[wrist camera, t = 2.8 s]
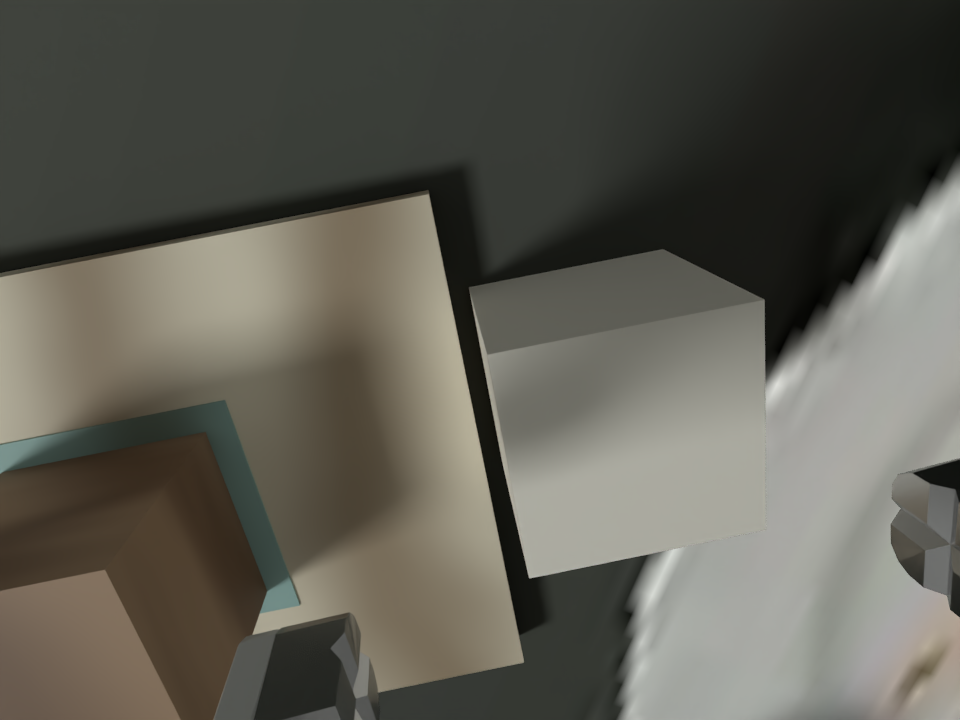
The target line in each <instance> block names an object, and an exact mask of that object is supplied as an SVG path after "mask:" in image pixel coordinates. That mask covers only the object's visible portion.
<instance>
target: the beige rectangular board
mask: <svg viewBox="0 0 960 720" xmlns="http://www.w3.org/2000/svg"><path fill="white" fill-rule="evenodd" d="M202 432H206V434H207V437H208V440H209V442H210V445H211V447H212V450H213V452H214V455H215V458H216V460H217V463H218V465H219V468H220V470H221V473H222V476H223V478H224V481H225V483H226V486H227V488H228V491H229V493H230V496H231V499H232V501H233V504H234V506H235V509H236V511H237V514H238V517H239V519H240V522H241V524H242V527H243V529H244V532H245V535H246V537H247V540H248V542H249V545H250V547H251V550H252V553H253V555H254V558H255V560H256V563H257V565H258V568H259V571H260V573H261V576H262V578H263V581H264V583H265V586H266V589H267V594H266V597H265V600H264V602H263V605H262V608H261V611H260V614H259V617H258V620H257V623H256V626H255V629H254V632H253V635H255V634H259V633H263V632H267V631H272V630H276V629H281V628H282V627H287V626H291V625H296V624H300V623H304V622H309V621H313V620H317V619H322V618H326V617H331V616H335V615H339V614H344V613H348V612H350V613H351V614H353V615H354V616H355V619H356V621H357V624H358V626H359V629H360V632H361V643H360V652H361V653H363V654H365V655H366V656H368V657H369V658H370V660H371V664H372V667H373V670H374V673H375V678H376V682H377V687H378V692H383V691H387V690H392V689H397V688H402V687H407V686H412V685H417V684H421V683H426V682H431V681H436V680H441V679H446V678H451V677H455V676H460V675H465V674H470V673H475V672H480V671H485V670H489V669H494V668H499V667H504V666H509V665H514V664H519V663H523V662H524V659H523V654H522V649H521V643H520V638H519V633H518V628H517V623H516V618H515V613H514V608H513V603H512V598H511V593H510V589H509V584H508V579H507V574H506V569H505V564H504V559H503V554H502V549H501V544H500V539H499V534H498V530H497V525H496V520H495V515H494V510H493V505H492V500H491V495H490V490H489V485H488V480H487V475H486V471H485V466H484V461H483V456H482V451H481V446H480V441H479V436H478V431H477V426H476V421H475V416H474V412H473V407H472V402H471V397H470V392H469V387H468V382H467V377H466V372H465V367H464V362H463V357H462V353H461V348H460V343H459V338H458V333H457V328H456V323H455V318H454V313H453V308H452V303H451V298H450V294H449V289H448V284H447V279H446V274H445V269H444V264H443V259H442V254H441V249H440V244H439V239H438V235H437V230H436V225H435V220H434V215H433V210H432V205H431V200H430V195H429V190H426V191H421V192H416V193H411V194H405V195H400V196H395V197H390V198H385V199H380V200H375V201H369V202H364V203H359V204H354V205H349V206H344V207H338V208H333V209H328V210H323V211H318V212H313V213H307V214H302V215H297V216H292V217H287V218H282V219H276V220H271V221H266V222H261V223H256V224H251V225H246V226H240V227H235V228H230V229H225V230H220V231H215V232H209V233H204V234H199V235H194V236H189V237H184V238H178V239H173V240H168V241H163V242H158V243H153V244H147V245H142V246H137V247H132V248H127V249H122V250H117V251H111V252H106V253H101V254H96V255H91V256H86V257H80V258H75V259H70V260H65V261H60V262H55V263H49V264H44V265H39V266H34V267H29V268H24V269H18V270H13V271H8V272H3V273H0V474H1V473H2V472H6V471H11V470H16V469H21V468H26V467H31V466H36V465H41V464H46V463H51V462H56V461H61V460H66V459H71V458H76V457H81V456H86V455H91V454H96V453H101V452H107V451H112V450H117V449H122V448H127V447H132V446H137V445H142V444H147V443H152V442H157V441H162V440H167V439H172V438H177V437H182V436H187V435H192V434H197V433H202Z"/></svg>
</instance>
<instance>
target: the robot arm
mask: <svg viewBox="0 0 960 720" xmlns="http://www.w3.org/2000/svg"><path fill="white" fill-rule="evenodd" d="M892 500H893V501H894V502H895V503H896V504H897V505H898V506H899V507H900V508H901V509H900V511H899V512H898V514H897V515H896V517H895V518H894V520H893V521H892V523H891V544H892V547H893V549H894V551H895V554H896V556H897V559H898V561H899V562H900V564H901V565H902V566H903V568H904V569H905V570H906V572H907V573H908V574H909V575H910V576H911V577H912V578H913V579H915V580H916V581H917V582H918V583H919V584H920V585H921V586H923V587H924V588H927V589H930V590H933V591H936V592H939V593H941V594H944V595H947V598H948V602H949V607H950V610H951V611H953V612H954V613H955V614H956V615H957V616H959V617H960V458H959V459H955V460H951V461H947V462H943V463H939V464H935V465H931V466H927V467H924V468H920V469H916V470H912V471H908V472H904V473H900V474H898V475H897V477H896V479H895V480H894V482H893V484H892ZM360 643H361V632H360V629H359V626H358V624H357V621H356V619H355V616H354V615H353V614H351V613H350V612H348V613H344V614H339V615H335V616H331V617H326V618H322V619H317V620H313V621H309V622H304V623H300V624H296V625H291V626H287V627H282V628H281V629H276V630H272V631H267V632H263V633H259V634H255V635H250V636H246V637H245V638H244V639H243V640H242V641H241V642H240V643H239V645H238V647H237V650H236V653H235V656H234V659H233V662H232V665H231V668H230V671H229V674H228V677H227V680H226V683H225V686H224V689H223V692H222V695H221V698H220V701H219V704H218V707H217V710H216V713H215V716H214V719H213V720H380V706H379V696H378V687H377V682H376V678H375V673H374V670H373V667H372V664H371V660H370V658H369V657H368V656H366V655H365V654H363V653H361V652H360Z"/></svg>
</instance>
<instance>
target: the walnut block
mask: <svg viewBox="0 0 960 720" xmlns="http://www.w3.org/2000/svg"><path fill="white" fill-rule="evenodd" d="M266 594H267V589H266V586H265V583H264V581H263V578H262V576H261V573H260V571H259V568H258V565H257V563H256V560H255V558H254V555H253V553H252V550H251V547H250V545H249V542H248V540H247V537H246V535H245V532H244V529H243V527H242V524H241V522H240V519H239V517H238V514H237V511H236V509H235V506H234V504H233V501H232V499H231V496H230V493H229V491H228V488H227V486H226V483H225V481H224V478H223V476H222V473H221V470H220V468H219V465H218V463H217V460H216V458H215V455H214V452H213V450H212V447H211V445H210V442H209V440H208V437H207V434H206V432H202V433H197V434H192V435H187V436H182V437H177V438H172V439H167V440H162V441H157V442H152V443H147V444H142V445H137V446H132V447H127V448H122V449H117V450H112V451H107V452H101V453H96V454H91V455H86V456H81V457H76V458H71V459H66V460H61V461H56V462H51V463H46V464H41V465H36V466H31V467H26V468H21V469H16V470H11V471H6V472H2V473H1V474H0V720H213V719H214V716H215V713H216V710H217V707H218V704H219V701H220V698H221V695H222V692H223V689H224V686H225V683H226V680H227V677H228V674H229V671H230V668H231V665H232V662H233V659H234V656H235V653H236V650H237V647H238V645H239V643H240V642H241V641H242V640H243V639H244V638H245V637H246V636H250V635H253V632H254V629H255V626H256V623H257V620H258V617H259V614H260V611H261V608H262V605H263V602H264V600H265V597H266Z"/></svg>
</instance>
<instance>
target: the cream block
mask: <svg viewBox="0 0 960 720" xmlns="http://www.w3.org/2000/svg"><path fill="white" fill-rule="evenodd" d="M469 292H470V297H471V303H472V308H473V313H474V318H475V324H476V329H477V334H478V339H479V345H480V350H481V355H482V360H483V365H484V371H485V376H486V381H487V386H488V392H489V397H490V402H491V407H492V413H493V418H494V423H495V428H496V433H497V439H498V444H499V449H500V454H501V459H502V464H503V468H504V472H505V477H506V481H507V485H508V490H509V494H510V498H511V502H512V507H513V511H514V515H515V520H516V524H517V528H518V533H519V537H520V541H521V546H522V550H523V554H524V558H525V563H526V567H527V571H528V576H529V578H534V577H539V576H544V575H549V574H554V573H559V572H564V571H569V570H573V569H578V568H583V567H588V566H593V565H598V564H603V563H608V562H613V561H617V560H622V559H627V558H632V557H637V556H642V555H647V554H652V553H657V552H661V551H666V550H671V549H676V548H681V547H686V546H691V545H696V544H701V543H706V542H710V541H715V540H720V539H725V538H730V537H735V536H740V535H745V534H750V533H754V532H759V531H764V530H766V418H765V300H764V299H762V298H760V297H758V296H756V295H754V294H752V293H750V292H748V291H746V290H744V289H742V288H740V287H738V286H736V285H734V284H732V283H730V282H728V281H726V280H724V279H722V278H720V277H718V276H716V275H714V274H712V273H710V272H708V271H706V270H704V269H702V268H700V267H698V266H696V265H694V264H692V263H690V262H688V261H686V260H684V259H682V258H680V257H678V256H676V255H674V254H672V253H670V252H668V251H666V250H664V249H661V250H656V251H651V252H646V253H641V254H636V255H631V256H625V257H620V258H615V259H610V260H605V261H600V262H595V263H590V264H585V265H580V266H575V267H570V268H564V269H559V270H554V271H549V272H544V273H539V274H534V275H529V276H524V277H519V278H514V279H509V280H503V281H498V282H493V283H488V284H483V285H478V286H473V287H469Z"/></svg>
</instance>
